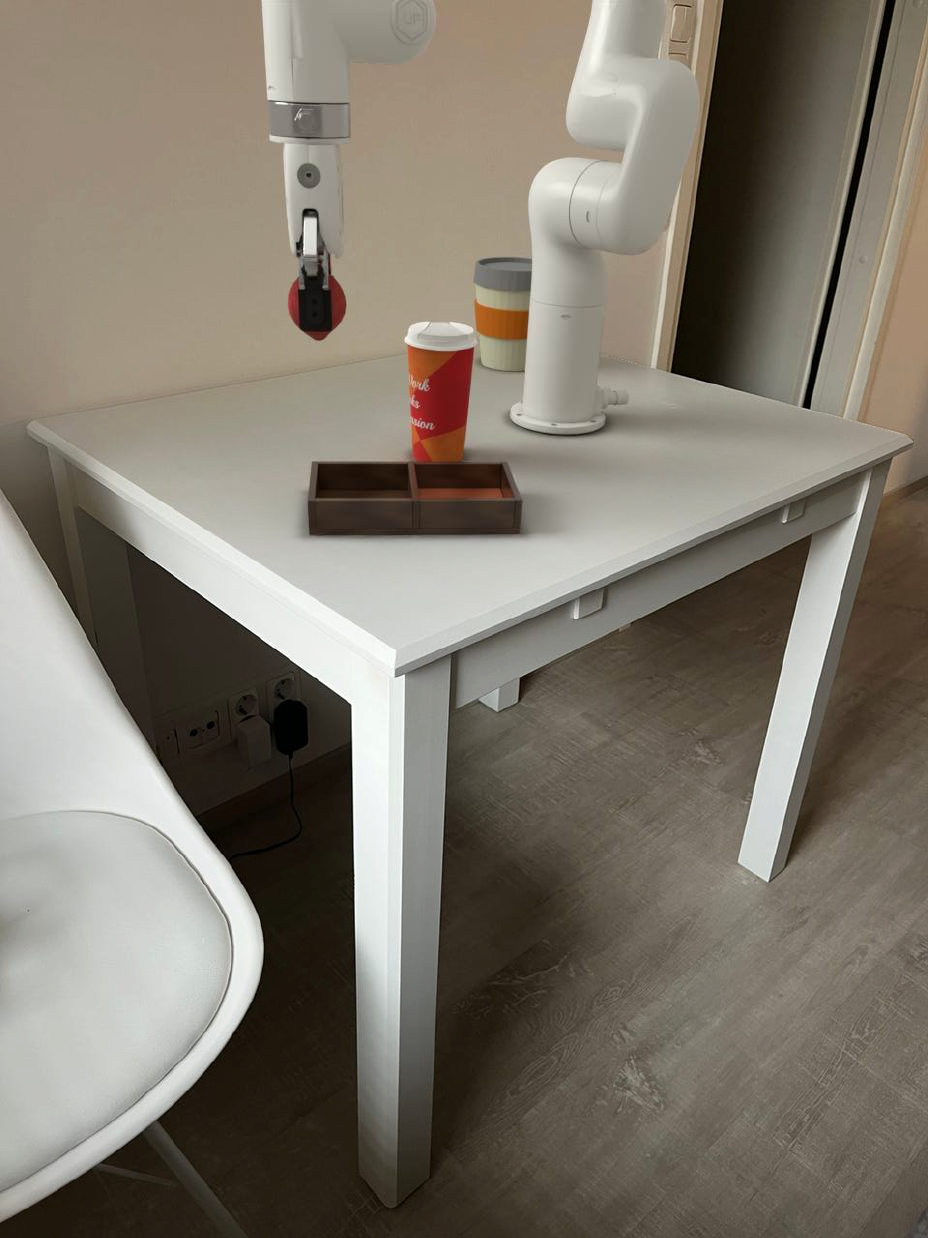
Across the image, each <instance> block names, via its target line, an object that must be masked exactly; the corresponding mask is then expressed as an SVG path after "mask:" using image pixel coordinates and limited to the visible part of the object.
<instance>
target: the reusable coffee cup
mask: <svg viewBox="0 0 928 1238" xmlns="http://www.w3.org/2000/svg"><path fill="white" fill-rule="evenodd" d="M473 273H474V274H473V278H472V279H473V281H472V282H473V283H474V284H475V296H476V298H475V299H474V300H473V303H474V305H473V306H474V317H475V318H474V319H475V329H476V332H477V333H478V334H479V336H478V337H479V347H480V350H479V351H480V358H481V359H480V361H481V364H482V365H483V366H485V368H489V369H493V370H497V371H503V372H504V371H505V372H525V362H526V348H527V334H528V320H529V306H530V294H531V279H532V257H531V258H530V257H517V256H493V257H485V258H480V259H478V260H476V261H475V266H474V272H473Z"/></svg>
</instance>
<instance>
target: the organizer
mask: <svg viewBox="0 0 928 1238" xmlns="http://www.w3.org/2000/svg"><path fill="white" fill-rule="evenodd" d="M522 512H523V499H522V496H521V494H520V491H519V488H518V485H517V483H516V480H515V477H514V475H513V472H512V470H511V467H510V465H509V462H508V461H459V462H419V461H401V460H400V461H399V460H398V461H394V460H393V461H391V460H390V461H389V460H388V461H381V460H380V461H378V460H377V461H376V460H375V461H374V460H373V461H372V460H371V461H369V460H368V461H367V460H364V461H363V460H361V461H357V460H355V461H354V460H352V461H347V460H346V461H340V460H339V461H337V460H334V461H333V460H332V461H331V460H329V461H327V460H326V461H324V460H323V461H322V460H319V461H317V460H313V461H311V465H310V475H309V484H308V495H307V520H308V535H310V536H327V535H329V536H332V535H333V536H336V535H339V536H340V535H341V536H343V535H346V536H347V535H348V536H349V535H351V536H353V535H355V536H356V535H487V534H488V535H503V534H505V535H506V534H507V535H513V534H514V535H515V534H516V535H517V534H521V527H522V525H521V524H522Z"/></svg>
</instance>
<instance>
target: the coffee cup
mask: <svg viewBox="0 0 928 1238" xmlns="http://www.w3.org/2000/svg"><path fill="white" fill-rule="evenodd" d="M404 343H405V344H407V364H408V365H407V367H408V388H409V411H410V413H409V415H410V432H411V449H412V457H413V459H414V460H415V461H416V462H462V460H463V457H464V451H465V443H466V433H467V425H468V424H467V423H468V415H469V405H470V395H471V387H472V386H471V385H472V375H473V364H474V354H475V347H477V345H478V344H479V341H478V339H477V338H476V336H475V330H474V328H473V327H471V326H470V325H467V324H464V323H459V322H455V321H454V322H453V321H449V322H445V321H434V322H430V321H421V322H416V323H412V324H411V325H410V326H409V327H408V330H407V335H406V336H405V337H404Z"/></svg>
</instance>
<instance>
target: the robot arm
mask: <svg viewBox="0 0 928 1238" xmlns="http://www.w3.org/2000/svg"><path fill="white" fill-rule="evenodd" d="M590 10H591V11H590V16H589V20H588V25H587V28H586V33H585V37H584V41H583V43H582V47H581V51H580V55H579V58H578V61H577V66H576V69H575V73H574V76H573V80H572V84H571V87H570V91H569V93H568V94H569V95H568V100H567V105H566V111H565V125H566V129H567V132H568V134H569V135H570V137H571V138H572V139H573V140H574V141H575V142H577V143H578V144H580V145H583V146H584V147H588V148H592V149H596V150H604V151H612V152H621V153H623V157H622V160H621V162H616V161H615V162H614V161H608V160H603V159H595V158H587V157H580V156H579V157H578V156H577V157H575V156H570V157H569V156H567V157H562V158H558V159H554V160H553V161H549V163H546V164H544V166H543V167H541V168H540V170H538V172H537V173H536V175H535V176H534V178H533V181H532V183H531V186H530V188H529V192H528V199H527V200H528V201H527V212H528V213H527V215H528V223H529V231H530V240H531V259H532V279H531V294H530V306H529V320H528V334H527V348H526V362H525V371H524V378H523V390H522V391H523V393H522V400H521V401H518V402H517V403H514V404H513V405H512V406H511V407H510V412H509V418H510V420H511V421H512V422H513V423H514V424H516V425H518V426H519V427H522V428H523V429H527V430H530V431H534V432H539V433H543V434H549V435H550V434H551V435H552V434H553V435H581V434H588V433H592V432H595V431H597V430H600V429H601V428H603V426H605V423H606V412H604V411H603V409H606V408H608V406H625V405H627V404H628V403H629V401H630V394H629V391H628V390H626V389H618V390H617V389H616V390H612V389H611V388H610V387H609V386H608V387H607V386H606V387H601V386H599V385H598V380H599V370H600V362H601V352H602V345H603V344H602V342H603V334H604V325H605V324H604V323H605V315H606V305H607V299H608V285H609V284H608V283H609V282H608V281H609V280H608V273H607V268H606V264H605V259H604V256H603V252H606V253H610V254H617V255H622V256H638V255H641V254H644V253H646V252H647V251H650V250H651V248H652V247H653V246H654V245H656V243H657V242H658V241H659V239H660V238H661V236H662V234H663V232H664V230H665V228H666V225H667V223H668V221H669V218H670V215H671V212H672V209H673V206H674V203H675V200H676V196H677V194H678V190H679V188H680V185H681V181H682V177H683V175H684V173H685V172H684V171H685V168H686V165H687V163H688V159H689V157H690V153H691V149H692V147H693V143H694V140H695V136H696V133H697V129H698V124H699V120H700V111H701V110H700V109H701V102H700V101H701V98H700V97H701V96H700V89H699V85H698V81H697V79H696V77H695V75H694V73H693V72H692V70H691V69H690V68H689V67H688V66H686V64H684V63H682V62H681V61H678V60H675V59H671V58H662V57H659V58H658V55H659V49H660V47H661V46H660V45H661V41H662V39H663V33H664V30H665V24H666V19H667V5H666V0H592V1H591V9H590ZM261 15H262V33H263V49H264V52H263V53H264V66H265V81H266V82H265V84H266V99H267V117H268V118H267V119H268V133H269V141H270V142H272V143H277V144H282V157H283V174H284V175H283V176H284V177H283V178H284V193H285V206H286V217H287V229H288V236H289V238H288V239H289V246H290V253H291V254H292V255H293V256H294V257H295V258H296V259H298V276H299V288H298V306H299V326H300V329H299V330H300V331H301V332H303V331H307V332H330V331H331V330H332V327H333V326H332V296H331V289H328V273H329V274H331V275H332V276H333V277H334V278H335V276H334V275H333V273H332V271H333V270H332V269H333V268H332V255H334V257H335V258H334V259H336V260H339V259H340V258H341V257H342V256H343V254H344V250H345V223H344V222H345V221H344V189H343V188H344V187H343V186H344V185H343V168H342V167H343V165H342V153H341V147H340V146H341V145H348V144H351V143H352V136H351V135H352V132H351V131H352V129H351V127H352V126H351V82H350V81H351V78H350V77H351V75H350V73H351V72H350V64H368V65H380V66H381V65H382V66H385V65H386V66H392V65H393V66H396V65H402V64H406V63H409V62H412V61H413V60H415V59H416V58H418V57H420V56H421V55H422V54H423V53H424V52H425V51H426V50H427V48H428V47H429V45H430V44H431V42H432V39H433V38H434V35H435V33H436V32H435V31H436V26H437V10H436V6H435V2H434V0H261ZM318 263H319V264H318ZM321 264H322V266H321Z"/></svg>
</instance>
